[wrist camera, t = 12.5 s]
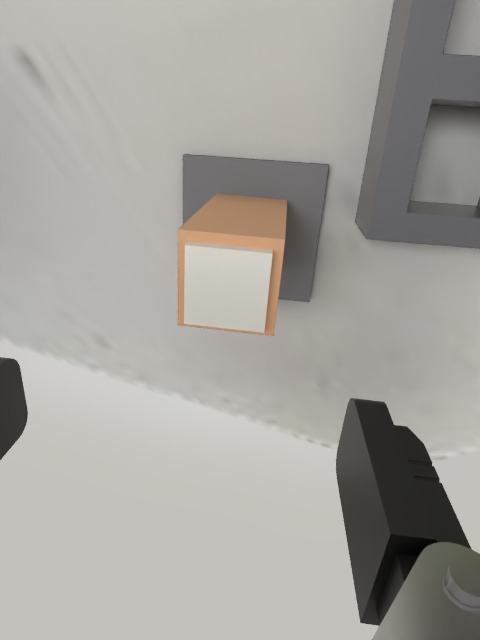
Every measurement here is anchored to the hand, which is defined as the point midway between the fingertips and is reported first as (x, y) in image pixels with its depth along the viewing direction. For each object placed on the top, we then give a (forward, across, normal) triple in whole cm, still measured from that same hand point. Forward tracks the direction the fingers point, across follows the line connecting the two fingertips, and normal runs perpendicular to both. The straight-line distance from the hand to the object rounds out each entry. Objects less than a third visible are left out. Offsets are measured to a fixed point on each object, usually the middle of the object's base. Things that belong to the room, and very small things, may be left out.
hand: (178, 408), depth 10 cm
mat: (+17, -1, -1) cm, 17 cm away
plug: (+16, -1, -1) cm, 16 cm away
